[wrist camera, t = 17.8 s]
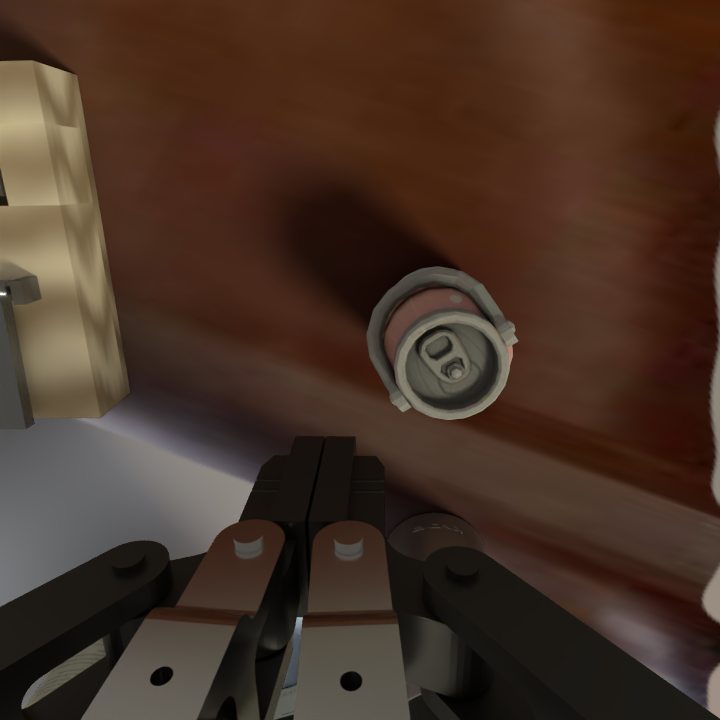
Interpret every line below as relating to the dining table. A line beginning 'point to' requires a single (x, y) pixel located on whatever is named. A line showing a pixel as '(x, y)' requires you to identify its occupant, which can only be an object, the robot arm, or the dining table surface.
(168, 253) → the dining table surface
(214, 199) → the dining table surface
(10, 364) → the lever
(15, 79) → the block
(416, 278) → the beverage can
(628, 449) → the dining table surface
